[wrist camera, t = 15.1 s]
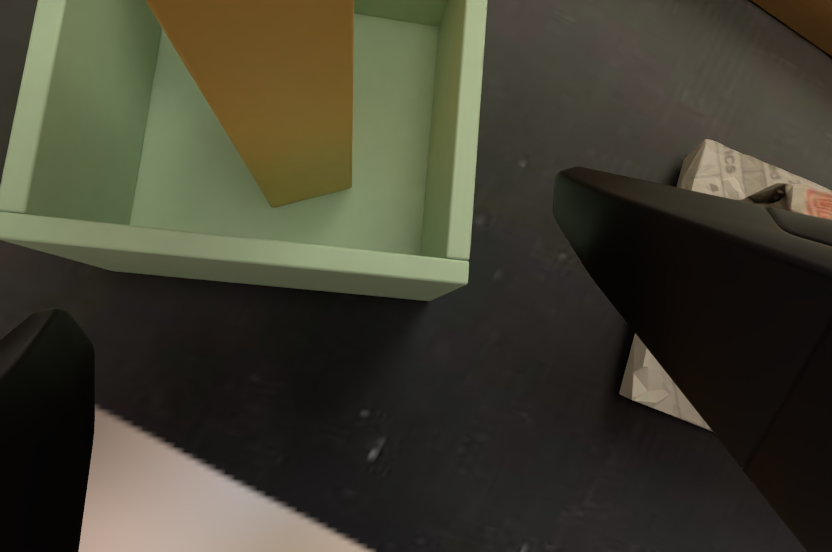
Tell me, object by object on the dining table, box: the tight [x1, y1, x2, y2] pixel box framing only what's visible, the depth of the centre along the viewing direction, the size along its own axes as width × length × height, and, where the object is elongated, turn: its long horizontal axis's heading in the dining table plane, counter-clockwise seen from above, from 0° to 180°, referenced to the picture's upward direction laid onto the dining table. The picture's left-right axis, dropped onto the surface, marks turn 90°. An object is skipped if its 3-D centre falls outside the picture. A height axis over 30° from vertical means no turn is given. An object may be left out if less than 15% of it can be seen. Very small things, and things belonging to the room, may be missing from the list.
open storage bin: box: [0, 0, 488, 301], centre depth 15 cm, size 11×11×6 cm
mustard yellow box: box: [145, 0, 354, 207], centre depth 10 cm, size 5×3×13 cm, turn 17°
